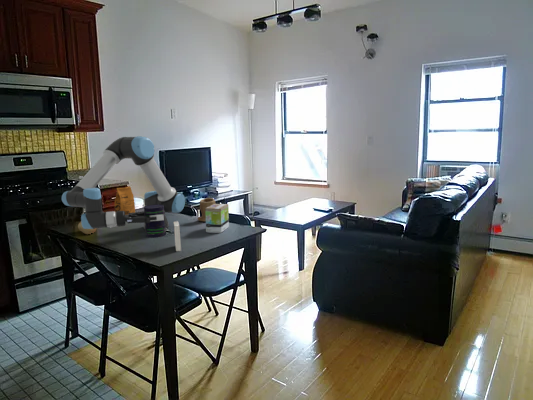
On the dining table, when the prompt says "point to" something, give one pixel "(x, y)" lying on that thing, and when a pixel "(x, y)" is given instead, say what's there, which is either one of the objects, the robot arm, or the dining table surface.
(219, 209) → the tea box
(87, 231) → the bread roll
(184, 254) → the dining table surface
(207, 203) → the stone cup
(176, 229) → the tile
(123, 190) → the coffee package
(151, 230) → the storage jar
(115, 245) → the dining table surface
